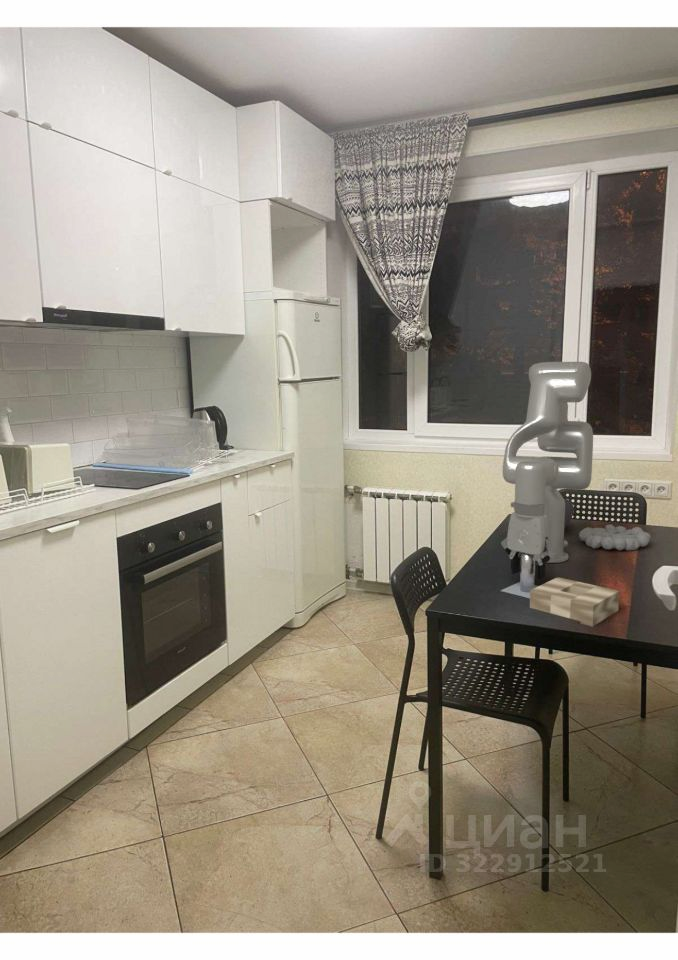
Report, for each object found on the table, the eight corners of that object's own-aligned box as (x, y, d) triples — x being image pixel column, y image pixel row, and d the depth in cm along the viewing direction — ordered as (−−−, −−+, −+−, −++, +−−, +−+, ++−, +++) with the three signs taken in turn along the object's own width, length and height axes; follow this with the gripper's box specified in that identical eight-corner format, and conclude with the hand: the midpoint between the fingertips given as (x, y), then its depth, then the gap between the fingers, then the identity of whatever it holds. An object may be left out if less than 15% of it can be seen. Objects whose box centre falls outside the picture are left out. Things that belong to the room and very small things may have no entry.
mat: (520, 583, 185) (520, 581, 185) (553, 591, 178) (553, 589, 178) (500, 592, 178) (500, 590, 178) (534, 601, 171) (534, 599, 171)
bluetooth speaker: (567, 537, 233) (568, 509, 231) (539, 535, 237) (540, 507, 235) (575, 523, 253) (576, 497, 251) (549, 521, 257) (550, 495, 255)
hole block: (557, 595, 175) (557, 577, 174) (618, 610, 164) (619, 590, 163) (529, 609, 166) (530, 590, 165) (592, 626, 154) (593, 605, 154)
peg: (524, 587, 181) (525, 543, 179) (536, 590, 178) (538, 546, 176) (517, 590, 178) (518, 546, 176) (529, 593, 176) (531, 548, 174)
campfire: (639, 558, 208) (640, 540, 207) (570, 548, 220) (571, 530, 219) (656, 543, 225) (657, 526, 224) (591, 534, 237) (592, 518, 236)
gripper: (492, 506, 178) (491, 572, 181) (553, 516, 166) (550, 586, 169) (507, 502, 183) (506, 566, 186) (567, 511, 171) (565, 579, 174)
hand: (527, 575), depth 177 cm, fingers open, 6 cm apart
